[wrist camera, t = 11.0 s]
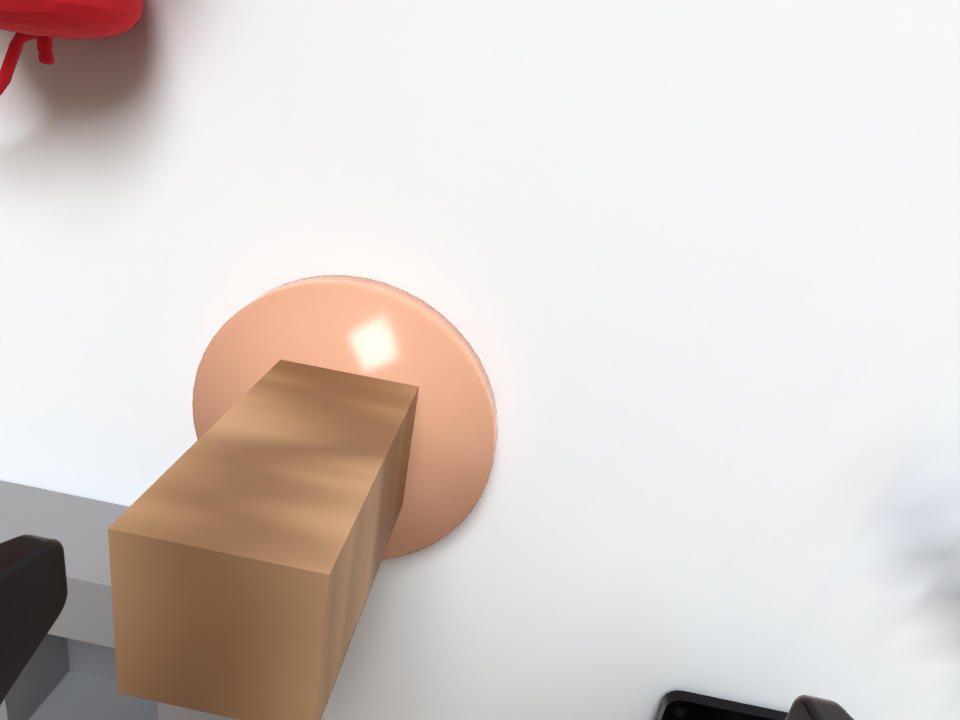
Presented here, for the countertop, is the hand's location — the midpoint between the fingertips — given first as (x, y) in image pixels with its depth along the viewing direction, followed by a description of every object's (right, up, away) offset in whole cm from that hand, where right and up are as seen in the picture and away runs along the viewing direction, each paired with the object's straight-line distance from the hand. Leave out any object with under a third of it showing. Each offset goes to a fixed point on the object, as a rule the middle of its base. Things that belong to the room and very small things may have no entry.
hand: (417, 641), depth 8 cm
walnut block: (-3, +1, +12) cm, 12 cm away
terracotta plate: (-3, +2, +13) cm, 13 cm away
